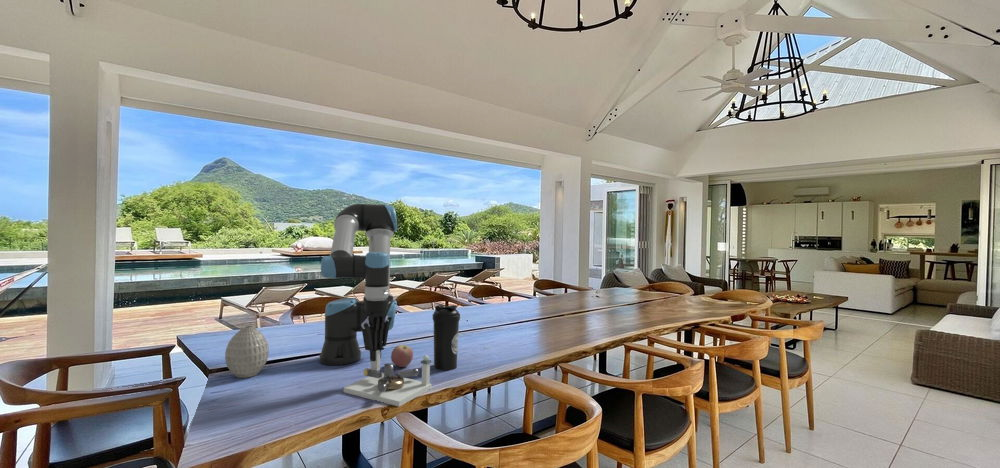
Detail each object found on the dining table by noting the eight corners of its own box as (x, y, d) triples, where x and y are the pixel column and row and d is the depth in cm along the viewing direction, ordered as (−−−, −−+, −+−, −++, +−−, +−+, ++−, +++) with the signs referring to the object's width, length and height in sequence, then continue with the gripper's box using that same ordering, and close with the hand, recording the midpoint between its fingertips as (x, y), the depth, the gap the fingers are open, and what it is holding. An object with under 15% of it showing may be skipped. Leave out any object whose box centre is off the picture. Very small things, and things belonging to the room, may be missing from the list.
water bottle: (454, 372, 151) (455, 308, 151) (427, 369, 153) (428, 307, 153) (462, 363, 161) (463, 304, 161) (437, 361, 163) (438, 302, 163)
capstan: (343, 388, 130) (343, 367, 130) (383, 371, 146) (383, 352, 146) (382, 398, 123) (383, 376, 123) (420, 379, 139) (420, 360, 139)
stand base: (343, 392, 131) (344, 357, 131) (379, 376, 145) (379, 345, 145) (399, 406, 121) (399, 369, 121) (431, 388, 136) (432, 354, 135)
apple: (393, 371, 151) (393, 349, 151) (388, 365, 158) (389, 343, 158) (415, 368, 155) (415, 346, 154) (409, 362, 161) (410, 341, 161)
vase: (276, 371, 148) (277, 324, 148) (244, 383, 136) (244, 332, 136) (249, 366, 152) (250, 321, 152) (215, 378, 140) (216, 328, 140)
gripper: (371, 302, 131) (369, 377, 131) (398, 297, 143) (397, 366, 143) (353, 300, 135) (352, 373, 135) (381, 295, 146) (380, 362, 146)
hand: (375, 369), depth 139 cm, fingers closed
